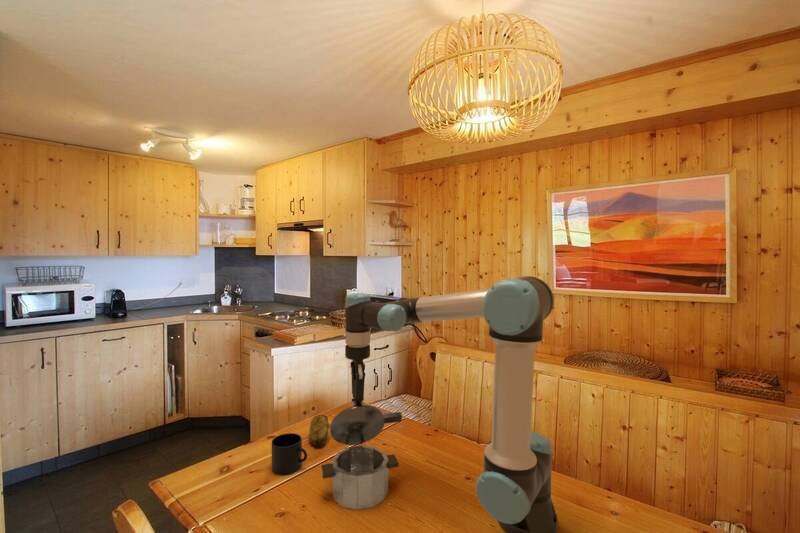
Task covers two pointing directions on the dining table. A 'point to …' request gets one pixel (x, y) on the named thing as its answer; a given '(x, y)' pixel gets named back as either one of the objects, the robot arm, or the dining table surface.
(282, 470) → the mug
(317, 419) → the potato
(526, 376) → the robot arm
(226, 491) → the dining table surface
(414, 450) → the dining table surface
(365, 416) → the lid
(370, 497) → the pot
